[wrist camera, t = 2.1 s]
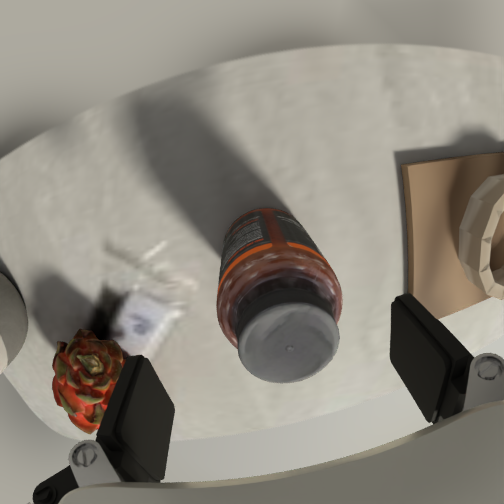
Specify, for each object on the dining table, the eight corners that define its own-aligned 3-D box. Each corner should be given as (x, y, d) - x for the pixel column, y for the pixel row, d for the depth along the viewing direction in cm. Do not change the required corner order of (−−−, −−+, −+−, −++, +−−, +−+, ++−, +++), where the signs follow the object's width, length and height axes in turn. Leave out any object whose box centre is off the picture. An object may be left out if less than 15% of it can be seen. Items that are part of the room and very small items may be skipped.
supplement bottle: (210, 267, 22) (188, 377, 11) (243, 192, 20) (247, 249, 10) (284, 296, 23) (314, 410, 12) (321, 226, 21) (391, 308, 11)
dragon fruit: (106, 293, 24) (141, 379, 30) (24, 327, 20) (77, 408, 26) (139, 353, 18) (178, 435, 24) (32, 399, 14) (103, 471, 20)
